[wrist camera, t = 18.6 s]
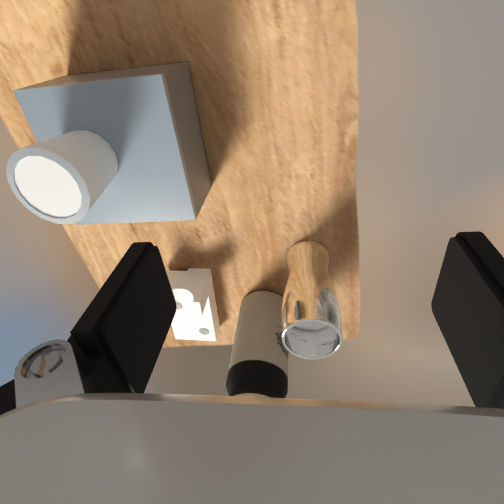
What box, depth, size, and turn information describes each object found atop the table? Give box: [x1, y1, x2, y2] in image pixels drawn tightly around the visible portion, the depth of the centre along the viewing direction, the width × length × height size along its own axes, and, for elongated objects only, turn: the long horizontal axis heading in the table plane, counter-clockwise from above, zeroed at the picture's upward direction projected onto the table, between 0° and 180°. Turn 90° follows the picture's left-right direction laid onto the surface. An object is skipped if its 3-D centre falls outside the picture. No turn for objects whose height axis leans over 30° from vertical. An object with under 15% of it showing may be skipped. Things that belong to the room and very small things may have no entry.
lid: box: [14, 73, 197, 225], centre depth 33 cm, size 14×14×1 cm
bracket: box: [166, 268, 220, 341], centre depth 53 cm, size 13×7×8 cm, turn 3°
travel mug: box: [226, 291, 288, 398], centre depth 48 cm, size 8×8×18 cm
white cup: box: [6, 130, 118, 224], centre depth 30 cm, size 7×7×7 cm
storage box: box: [21, 61, 212, 216], centre depth 37 cm, size 14×14×8 cm
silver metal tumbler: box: [281, 241, 343, 359], centre depth 42 cm, size 7×7×15 cm
